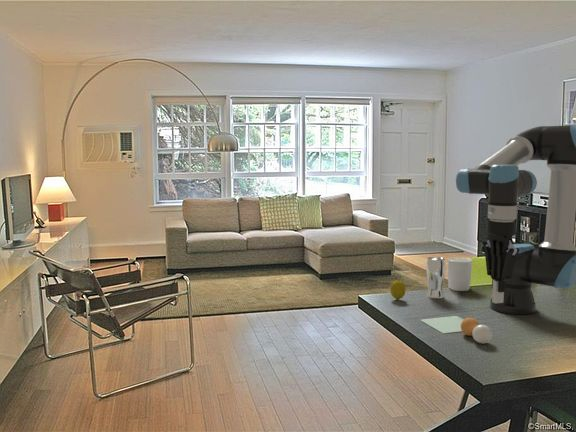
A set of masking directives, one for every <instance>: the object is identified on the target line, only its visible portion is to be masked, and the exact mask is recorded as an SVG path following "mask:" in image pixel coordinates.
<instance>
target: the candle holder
mask: <svg viewBox="0 0 576 432" xmlns="http://www.w3.org/2000/svg"><path fill="white" fill-rule="evenodd" d="M473 262H474V260H473V259H471V258H468V257H462V256H461V257H460V256H459V257H458V256H454V257H448V258H447V287H448V289H449V288H451V289H452V291H456V292H457V291H458V292H467V291H469V290H470V288H471V280H472V268H473ZM451 289H450V290H451Z"/></svg>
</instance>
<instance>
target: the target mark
mask: <svg viewBox="0 0 576 432" xmlns="http://www.w3.org/2000/svg"><path fill="white" fill-rule="evenodd" d="M463 320H464V318H462V317H460V316H457V315H452V316H444V317H443V316H442V317H433V318H423V319H419V321H421V322H422V323H424V324H426V325H427V326H429V327H431V328H433V329H434V330H436V331H438V332H439V333H441V334H444V335H445V334H451V333H452V334H453V333H461V332H462V330H461V323H462V321H463ZM462 333H463V332H462Z"/></svg>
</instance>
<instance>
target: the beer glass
mask: <svg viewBox="0 0 576 432" xmlns="http://www.w3.org/2000/svg"><path fill="white" fill-rule="evenodd" d="M445 277H446V258H445V257H442V256H441V257H439V256H430V257H427V259H426V278H427V286H428V287H427V293H426V298H429V299H434V300H436V299H437V300H438V299H439V300H441V299H443V298H444V293H443V285H444V281H445Z"/></svg>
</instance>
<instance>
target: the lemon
mask: <svg viewBox="0 0 576 432" xmlns="http://www.w3.org/2000/svg"><path fill="white" fill-rule="evenodd" d="M390 294H391V296H392V297H393V298H394V299H395V300H396V301H399V300H401V299H402V298H403V297H404V296H405V294H406V285H405V283H404V282H403V281H401V280H400V279H395V280H394V281H393V282H392V283H391V285H390Z"/></svg>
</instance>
